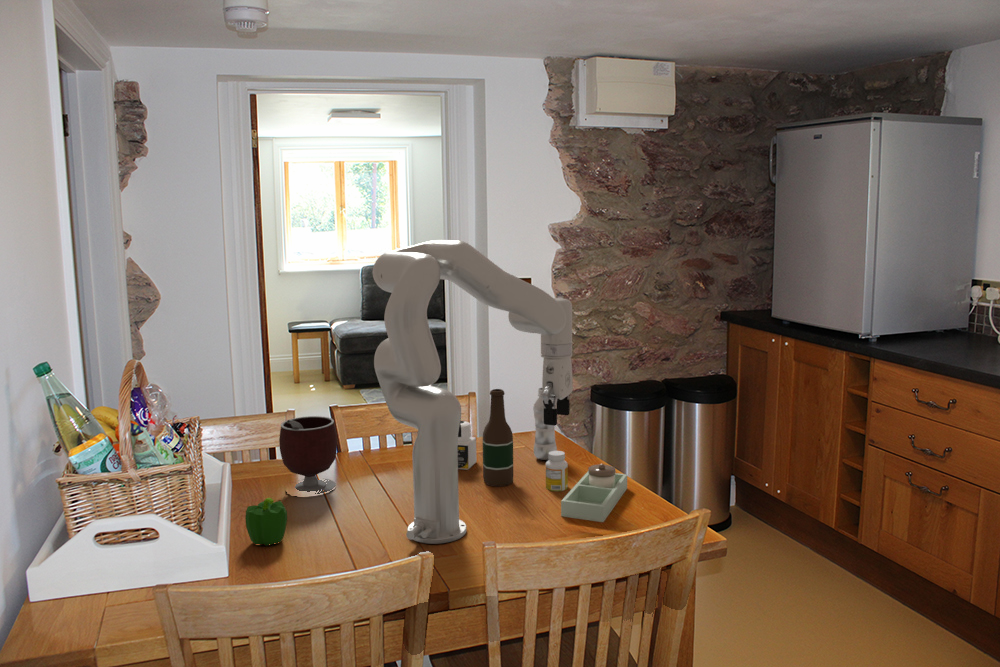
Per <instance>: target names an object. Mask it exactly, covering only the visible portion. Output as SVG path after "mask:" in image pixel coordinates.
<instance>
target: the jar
mask: <svg viewBox="0 0 1000 667" xmlns="http://www.w3.org/2000/svg"><path fill="white" fill-rule="evenodd" d="M587 472H588V473H589V486H596V487H604V488H612V489H613V488H614V486H615V473H616V468H615V466H612V465H610V464H609V465H608V464H604V463H599V464H592V465H590V466H589V467H588V470H587Z"/></svg>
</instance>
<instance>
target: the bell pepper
mask: <svg viewBox="0 0 1000 667" xmlns="http://www.w3.org/2000/svg"><path fill="white" fill-rule="evenodd" d="M244 516H245V517H244V518H245V520H244V521H245V527H246V528H245V529H246V530H247V534H248V537H249V539H250V541H251V542H252V544H254V543H255V544H265V545H264V546H268V545H269V544H270V545H271V544H274V543H278V542H280V541H281V540H282V541H283V539H284V536H285V533H286V528H287V523H288V510H287V509H286V507H285V506H284V503H283V502H282V501H281V500H279V501H274V499H272V498H271V497H267V498H265V499H264V501H261V502H259V503H258V504H257V505H249V506H247V507H246V510H245V515H244ZM282 541H281V542H282ZM281 542H280V543H281ZM255 544H254V545H255ZM278 544H279V543H278Z"/></svg>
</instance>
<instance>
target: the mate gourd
mask: <svg viewBox="0 0 1000 667" xmlns="http://www.w3.org/2000/svg"><path fill="white" fill-rule="evenodd" d="M337 435H338V434H337V428H336V425H335V420H334V419H333V418H331V417H329V416H321V415H320V416H319V415H318V416H317V415H316V416H314V415H312V416H300V417H294V418H291V419H287V420H285V421H283V422H282V423H281V424H280V431H279V438H278V439H279V440H278V441H279V451H280V455H281V460H282V463H283V465H284V466H285V468H286V469H287V470H288V471H289V472H290V473H292V474H295V475H300V476H302V477H303V476H304V478H303V480H304V481H303V482H300V483H298V484H296V486H295V488H296V489H297V490H299V491H307V492H310V491H316V492H317V491H318V490H319V492H320V491H321V489H322V491H321V492H320V493H324V492H327V491H330V490H332V489H333V488H334V487H335V486H336V487H337V484H336V482H335V481H334V480H332V479H328V478H324V479H325V480H327V481H326V482H324V481H325V480H324V481H322V480H318V479H317V478H318V477H317V475H319V474H322V473H324V472H325V471H328V470H329V469H330V467H331V466H332V465H333V463H334V462H335V461H336V457H337V451H338V436H337ZM328 480H329V481H328ZM326 483H327V484H326ZM323 490H324V491H323ZM319 492H318V493H317V494H320V493H319ZM315 494H316V493H315Z"/></svg>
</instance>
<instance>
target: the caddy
mask: <svg viewBox="0 0 1000 667" xmlns="http://www.w3.org/2000/svg"><path fill="white" fill-rule="evenodd" d="M627 489H628V474H625V473H618V472H617V473H616V472H615V486H614V488H613V489H612V488H604V487H596V486H589V473H588V471H587V472H586V473H585V474H583V476H582V477H581V478H580V480H579V481H578V482H577V483H576V484H575V485H574V486H573V487H572V488H571V489H570V490H569V491H568V493H566V495H564V497H563V498H562V500H560V516H561V517H564V518H571V519H576V520H577V519H579V520H584V521H590V522H591V521H593V522H599V523H604V522H605V521H606V519H607V518H608V517H609V515H610V513H612V511H613V509H614V508H615V507H616V505H617V504H618V502H619V501H620V499H622V496H623V495H624V494H625V492H626V491H627Z"/></svg>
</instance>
